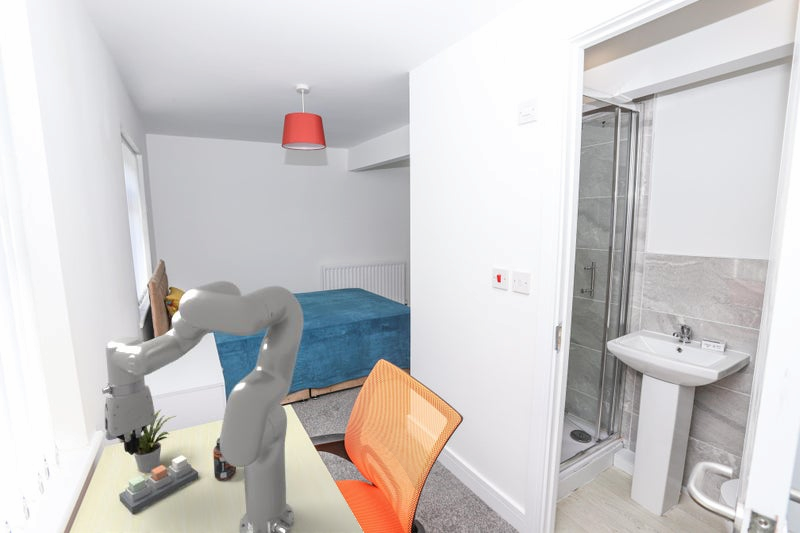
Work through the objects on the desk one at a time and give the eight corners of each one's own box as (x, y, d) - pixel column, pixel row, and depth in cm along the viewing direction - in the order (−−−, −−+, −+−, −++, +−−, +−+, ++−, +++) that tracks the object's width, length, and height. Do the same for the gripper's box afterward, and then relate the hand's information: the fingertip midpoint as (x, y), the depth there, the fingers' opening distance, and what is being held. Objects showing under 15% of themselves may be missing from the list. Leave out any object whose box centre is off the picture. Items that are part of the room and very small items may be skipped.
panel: (198, 478, 115) (197, 465, 115) (132, 514, 102) (131, 500, 101) (184, 467, 120) (183, 455, 119) (119, 500, 106) (118, 487, 106)
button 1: (145, 488, 106) (145, 479, 106) (134, 494, 104) (133, 485, 103) (141, 483, 108) (140, 475, 107) (129, 489, 105) (128, 481, 105)
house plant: (178, 445, 131) (174, 399, 128) (182, 469, 119) (178, 418, 117) (126, 460, 123) (121, 411, 120) (125, 486, 111) (119, 433, 109)
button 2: (167, 476, 111) (166, 468, 110) (156, 482, 108) (155, 474, 108) (162, 472, 112) (162, 464, 112) (152, 478, 110) (151, 470, 109)
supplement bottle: (228, 483, 113) (226, 446, 112) (210, 480, 115) (207, 443, 113) (240, 469, 119) (238, 434, 117) (223, 467, 120) (221, 432, 119)
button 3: (187, 466, 115) (186, 458, 115) (177, 471, 113) (176, 463, 112) (182, 462, 117) (182, 455, 116) (172, 467, 114) (172, 460, 114)
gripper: (97, 401, 93) (104, 472, 96) (165, 380, 105) (169, 443, 108) (86, 392, 98) (92, 460, 100) (152, 372, 110) (156, 434, 112)
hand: (132, 451), depth 104 cm, fingers closed
